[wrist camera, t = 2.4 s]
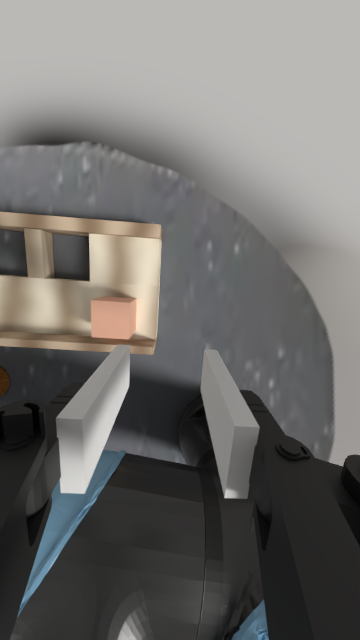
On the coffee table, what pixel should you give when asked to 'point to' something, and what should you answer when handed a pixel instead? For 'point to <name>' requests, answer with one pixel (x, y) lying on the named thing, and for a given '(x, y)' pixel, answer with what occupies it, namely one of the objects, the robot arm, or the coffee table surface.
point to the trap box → (80, 284)
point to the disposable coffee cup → (4, 381)
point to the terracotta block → (113, 317)
